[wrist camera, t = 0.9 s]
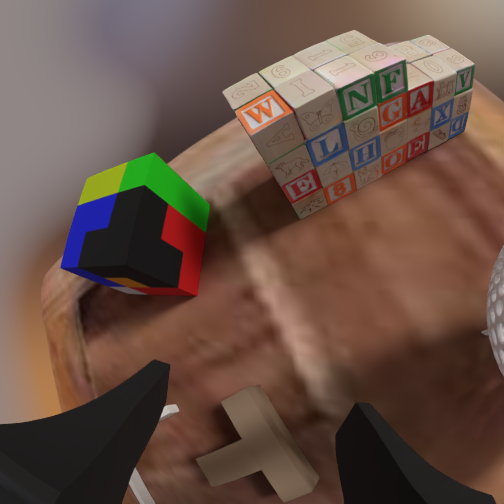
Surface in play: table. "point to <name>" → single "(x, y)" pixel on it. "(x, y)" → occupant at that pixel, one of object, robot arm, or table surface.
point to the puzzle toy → (139, 230)
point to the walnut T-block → (260, 448)
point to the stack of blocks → (351, 112)
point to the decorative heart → (496, 311)
